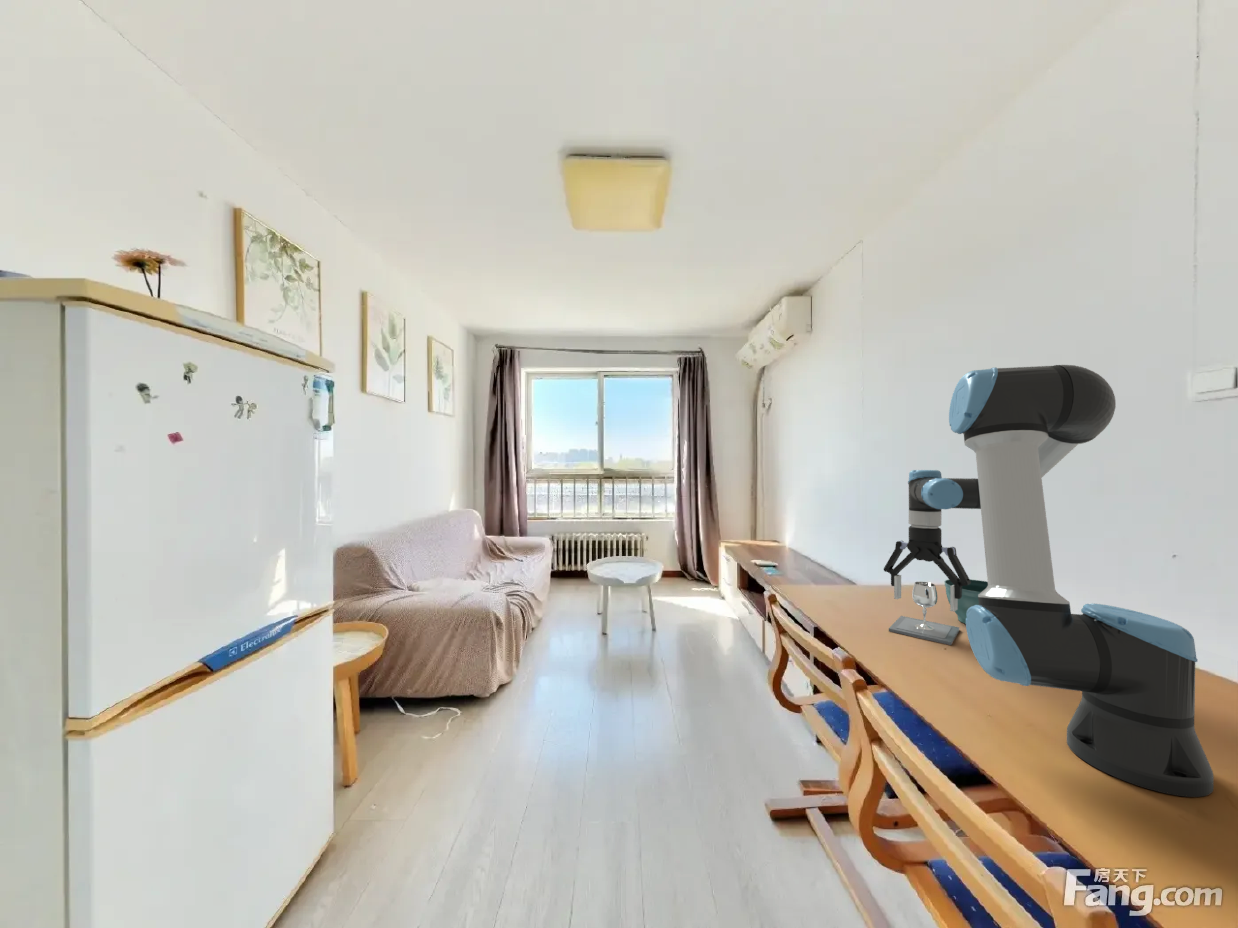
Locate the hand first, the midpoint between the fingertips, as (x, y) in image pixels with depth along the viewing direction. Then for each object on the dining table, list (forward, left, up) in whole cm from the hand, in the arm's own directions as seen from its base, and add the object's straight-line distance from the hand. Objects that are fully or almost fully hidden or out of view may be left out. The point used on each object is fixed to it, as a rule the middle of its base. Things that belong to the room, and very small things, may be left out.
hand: (924, 604), depth 127 cm
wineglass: (0, 0, -7) cm, 7 cm away
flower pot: (+19, -7, -8) cm, 22 cm away
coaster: (0, 0, -7) cm, 7 cm away
